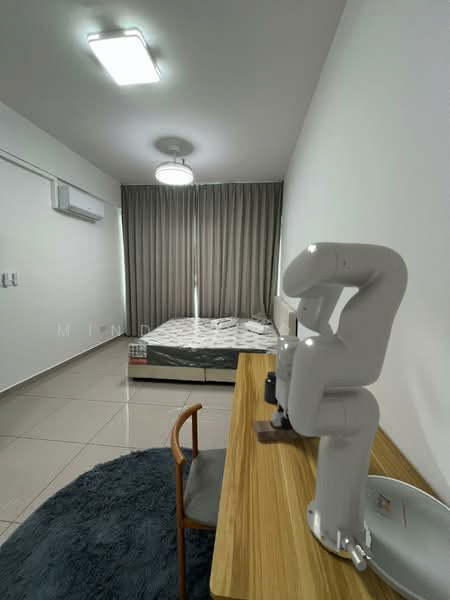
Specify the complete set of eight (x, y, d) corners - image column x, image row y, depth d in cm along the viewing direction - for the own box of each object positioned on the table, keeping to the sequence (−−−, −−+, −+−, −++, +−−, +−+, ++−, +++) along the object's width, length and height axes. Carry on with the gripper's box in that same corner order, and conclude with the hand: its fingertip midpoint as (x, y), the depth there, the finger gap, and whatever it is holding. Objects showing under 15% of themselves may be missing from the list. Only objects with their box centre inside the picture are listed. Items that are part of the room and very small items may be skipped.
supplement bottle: (279, 404, 103) (281, 377, 102) (263, 402, 105) (264, 375, 104) (279, 397, 110) (280, 371, 109) (264, 395, 111) (265, 369, 110)
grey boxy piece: (293, 430, 86) (294, 411, 85) (296, 435, 83) (297, 416, 83) (271, 431, 85) (272, 412, 84) (274, 437, 82) (275, 417, 82)
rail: (307, 426, 89) (308, 418, 88) (315, 437, 83) (316, 428, 82) (253, 429, 86) (253, 421, 86) (257, 440, 80) (258, 431, 80)
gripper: (309, 383, 74) (305, 439, 76) (288, 363, 91) (285, 410, 93) (285, 383, 74) (282, 441, 75) (268, 363, 90) (266, 411, 92)
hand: (284, 423), depth 84 cm, fingers open, 4 cm apart
